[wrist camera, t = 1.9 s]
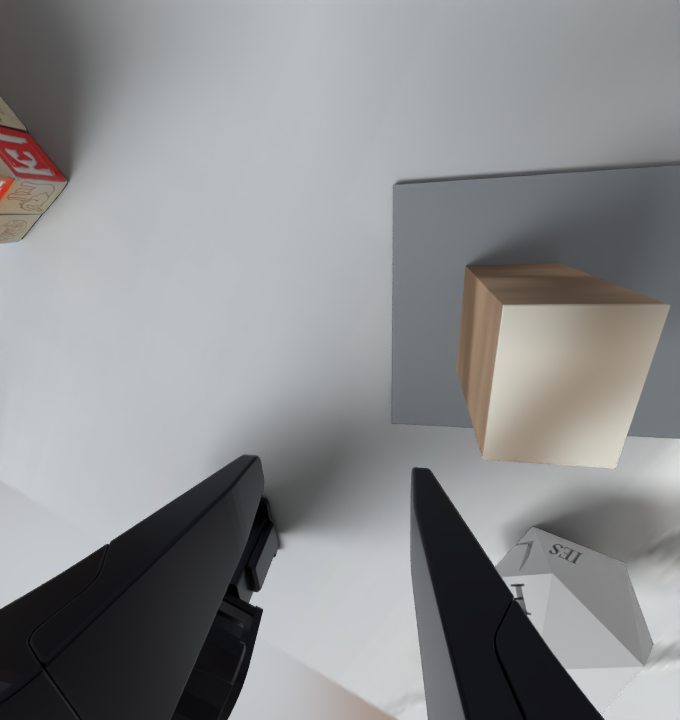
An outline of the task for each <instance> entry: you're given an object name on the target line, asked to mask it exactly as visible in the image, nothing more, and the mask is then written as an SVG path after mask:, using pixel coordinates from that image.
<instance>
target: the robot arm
mask: <svg viewBox="0 0 680 720" xmlns="http://www.w3.org/2000/svg"><path fill="white" fill-rule="evenodd" d="M263 489H264V476H263V470H262V465H261V460H260V458H259V456H257V455H247V454H246V455H242V456H240V457H239V458H237V459H236V460H234V461H233V462H231V463H229V464H228V465H226V466H225V467H223V468H222V469H220V470H219V471H217V472H216V473H214V474H213V475H211V476H210V477H208V478H207V479H205V480H204V481H202V482H201V483H199V484H197V485H196V486H194V487H193V488H191V489H190V490H188V491H187V492H185V493H184V494H182V495H181V496H179V497H178V498H176V499H175V500H173V501H172V502H170V503H169V504H167V505H165V506H164V507H162V508H161V509H159V510H158V511H156V512H155V513H153V514H152V515H150V516H149V517H147V518H146V519H144V520H143V521H141V522H140V523H138V524H136V525H135V526H133V527H132V528H130V529H129V530H127V531H126V532H124V533H123V534H121V535H120V536H118V537H117V538H115V539H114V540H112V541H111V542H110V544H106V545H104V546H103V547H101V548H100V549H98V550H97V551H95V552H94V553H92V554H91V555H89V556H88V557H86V558H84V559H83V560H81V561H80V562H78V563H76V564H75V565H73V566H72V567H70V568H69V569H67V570H65V571H64V572H62V573H61V574H59V575H57V576H56V577H54V578H52V579H51V580H49V581H47V582H46V583H44V584H42V585H41V586H39V587H37V588H36V589H34V590H33V591H31V592H29V593H27V594H26V595H24V596H22V597H20V598H19V599H17V600H15V601H13V602H12V603H10V604H8V605H7V606H5V607H3V608H2V609H0V720H227V719H228V717H229V716H230V714H231V712H232V710H233V708H234V706H235V703H236V701H237V699H238V697H239V694H240V692H241V689H242V687H243V684H244V681H245V678H246V675H247V672H248V668H249V664H250V660H251V656H252V652H253V648H254V644H255V640H256V636H257V632H258V628H259V624H260V620H261V616H262V612H263V609H262V608H260V607H258V606H256V607H255V606H253V605H251V604H249V601H250V599H251V596H252V594H253V592H259V591H260V590H261V588H262V585H263V583H264V580H265V577H266V575H267V572H268V569H269V567H270V564H271V561H272V559H273V557H275V556H276V554H277V546H278V541H277V536H276V530H275V525H274V523H273V521H272V518H271V512H270V507H269V502H268V500H267V499H265V498H263V497H261V495H262V492H263ZM410 557H411V575H412V584H413V593H414V602H415V611H416V619H417V628H418V637H419V645H420V654H421V663H422V671H423V680H424V689H425V697H426V706H427V715H428V720H605V719H604V718H603V717H602V716H601V714H600V713H599V712H598V711H597V709H596V708H595V707H594V706H593V704H592V703H591V702H590V700H589V699H588V698H587V697H586V695H585V694H584V693H583V692H582V690H581V689H580V688H579V686H578V685H577V684H576V682H575V681H574V680H573V679H572V677H571V676H570V675H569V673H568V672H567V671H566V669H565V668H564V667H563V665H562V664H561V663H560V662H559V660H558V659H557V658H556V656H555V655H554V654H553V652H552V651H551V649H550V648H549V647H548V645H547V644H546V642H545V641H544V639H543V638H542V636H541V635H540V634H539V632H538V631H537V629H536V628H535V626H534V625H533V624H532V622H531V621H530V619H529V618H528V616H527V615H526V613H525V612H524V610H523V609H522V607H521V606H520V604H519V602H518V601H517V600H514V595H513V594H512V592H511V591H510V589H509V588H508V586H507V585H506V583H505V582H504V580H503V579H502V577H501V576H500V574H499V573H498V571H497V570H496V568H495V567H494V565H493V564H492V562H491V561H490V559H489V558H488V556H487V555H486V553H485V552H484V550H483V548H482V547H481V545H480V544H479V542H478V541H477V539H476V538H475V536H474V535H473V533H472V532H471V530H470V529H469V527H468V526H467V524H466V523H465V521H464V520H463V518H462V517H461V515H460V514H459V512H458V511H457V509H456V508H455V506H454V505H453V503H452V502H451V500H450V499H449V497H448V496H447V494H446V493H445V491H444V490H443V488H442V487H441V485H440V484H439V482H438V481H437V479H436V478H435V476H434V475H433V473H432V472H431V470H430V469H428V468H417V467H414V468H412V473H411V533H410Z"/></svg>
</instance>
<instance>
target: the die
mask: <svg viewBox="0 0 680 720" xmlns="http://www.w3.org/2000/svg"><path fill="white" fill-rule="evenodd" d="M495 568H496V570H497V571H498V573H499V574H500V576H501V577H502V579H503V580H504V582H505V583H506V585H507V586H508V588H509V589H510V591H511V592H512V594H513V595H514V600H517V601H518V602H519V604H520V606H521V607H522V609H523V610H524V612H525V613H526V615H527V616H528V618H529V619H530V621H531V622H532V624H533V625H534V626H535V628H536V629H537V631H538V632H539V634H540V635H541V636H542V638H543V639H544V641H545V642H546V644H547V645H548V647H549V648H550V649H551V651H552V652H553V654H554V655H555V656H556V658H557V659H558V660H559V662H560V663H561V664H562V665H563V667H564V668H565V669H566V671H567V672H568V673H569V675H570V676H571V677H572V679H573V680H574V681H575V682H576V684H577V685H578V686H579V688H580V689H581V690H582V692H583V693H584V694H585V695H586V697H587V698H588V699H589V700H590V702H591V703H592V704H593V706H594V707H595V708H596V709H597V711H598V712H600V713H601V714H603V713H604V712H605V711H606V710H607V708H608V707H609V706H610V705H611V704H612V703H613V702H614V700H615V699H616V698H617V697H618V696H619V695H620V694H621V692H622V691H623V690H624V689H625V688H626V687H627V686H628V685H629V683H630V682H631V681H632V680H633V679H634V678H635V677H636V675H637V674H638V673H639V672H640V671H641V670H642V669H643V668H644V666H645V664H646V661H647V659H648V656H649V654H650V652H651V649H652V647H653V645H654V644H653V641H652V639H651V636H650V633H649V630H648V628H647V625H646V622H645V619H644V617H643V614H642V611H641V608H640V605H639V603H638V600H637V597H636V594H635V592H634V589H633V586H632V583H631V581H630V578H629V575H628V572H627V570H626V567H625V564H624V562H622V561H619V560H617V559H614V558H612V557H609V556H606V555H604V554H601V553H599V552H596V551H594V550H591V549H589V548H586V547H584V546H581V545H579V544H576V543H573V542H571V541H568V540H566V539H563V538H561V537H558V536H556V535H553V534H551V533H548V532H546V531H543V530H541V529H538V528H535V527H532V528H531V529H530V530H529V531H528V532H527V533H526V534H525V535H524V536H523V537H522V538H521V540H520V541H519V542H518V543H517V545H516V546H514V547H513V548H512V549H511V550H510V551H509V552H508V553H507V555H506V556H505V557H504V558H503V559H502V560H501V561H500V562H499V563H498V564H497V565H496V566H495Z"/></svg>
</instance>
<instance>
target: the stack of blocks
mask: <svg viewBox="0 0 680 720" xmlns="http://www.w3.org/2000/svg"><path fill="white" fill-rule="evenodd" d="M66 184H67V180H66V179H65V177H64V176H63V175H62V174H61V173H60V172H59V170H58V169H57V168H56V167H55V165H54V164H53V163H52V162H51V161H50V159H49V158H48V157H47V156H46V155H45V153H44V152H43V151H42V150H41V148H40V147H39V146H38V145H37V144H36V143H35V141H34V140H33V139H32V137H31V136H30V135H29V134H27V129H26V128H25V126H24V125H23V124H22V123H21V121H20V120H19V119H18V118H17V116H16V115H15V114H14V112H13V111H12V110H11V109H10V107H9V106H8V105H7V104H6V103H5V101H4V100H3V99H2V98H1V96H0V244H1V243H11V242H18V241H20V240H21V238H22V237H23V236H24V235H25V234H26V233H27V232H28V230H29V229H30V228H31V227H32V226H33V224H34V223H35V222H36V221H37V219H38V218H39V217H40V216H41V214H42V213H44V212H45V211H46V210H47V208H48V207H49V206H50V205H51V204H52V202H53V201H54V200H55V198H56V197H57V196H58V195H59V194H60V192H61V191H62V190H63V188H64V187H65V185H66Z"/></svg>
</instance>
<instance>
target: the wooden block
mask: <svg viewBox="0 0 680 720" xmlns="http://www.w3.org/2000/svg"><path fill="white" fill-rule="evenodd" d="M670 306H671V305H669V304H666V303H663V302H661V301H658V300H655V299H653V298H650V297H648V296H645V295H642V294H640V293H637V292H635V291H632V290H629V289H627V288H624V287H621V286H619V285H616V284H614V283H611V282H608V281H606V280H603V279H601V278H598V277H595V276H593V275H590V274H588V273H585V272H582V271H580V270H577V269H574V268H572V267H569V266H567V265H564V264H561V263H546V264H510V265H473V266H465V277H464V288H463V300H462V311H461V322H460V333H459V345H458V356H457V367H456V371H457V374H458V377H459V381H460V384H461V387H462V391H463V394H464V397H465V401H466V404H467V407H468V411H469V414H470V417H471V421H472V424H473V427H474V431H475V434H476V437H477V441H478V444H479V447H480V450H481V454H482V457H483V460H496V461H511V462H526V463H540V464H555V465H570V466H584V467H599V468H614V469H616V466H617V463H618V460H619V457H620V455H621V452H622V449H623V446H624V443H625V440H626V437H627V434H628V431H629V428H630V425H631V422H632V419H633V416H634V413H635V410H636V407H637V404H638V401H639V398H640V395H641V392H642V389H643V386H644V383H645V380H646V377H647V374H648V371H649V368H650V365H651V362H652V359H653V356H654V353H655V350H656V347H657V344H658V341H659V338H660V335H661V332H662V329H663V326H664V323H665V320H666V317H667V314H668V311H669V309H670Z"/></svg>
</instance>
